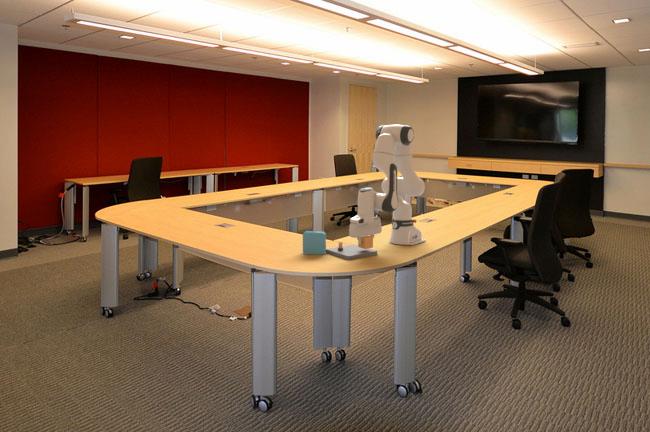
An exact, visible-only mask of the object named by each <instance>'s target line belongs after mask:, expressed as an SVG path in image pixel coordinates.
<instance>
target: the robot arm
mask: <svg viewBox="0 0 650 432" xmlns="http://www.w3.org/2000/svg"><path fill="white" fill-rule="evenodd" d="M414 137H415V131H414V128H413V127H412V126H410V125H407V124H404V125H403V124H388V125H386V124H382V125H379V126H378V127H377V128H376V131H375V139H376V142H375V145H374V148H373V152H372V153H373V155H372V163H373V166H374V167H375V168H376V169H377V170H379V171H380V172H382V173H384V175H385V176H386V177H385V178H384V179H383V180H382V182H381V190H382V192H377V191H376V190H374V189H373V187H367V186H366V187H363V188H360V189H359V190H358V195H357V207H358V208H357V214H356V215H355V216H353V217H351V218H349V222H350V224H349V227H348V228H349V229H348V235H349V237H350V238H354V239H357V242H358V241H359V244H360V245H361V244H363V241H361V239H360V238H361V236H367V235H369V236H373V239H374V238H375V235H377V234H381V233H382V231H383V230H382V222H381V218H380V217H379V216H375V211H378V212H384V213H387V214H391V213H392V219H391V233H390V237H389V243H390V244H394V245H403V246H404V245H407V246H409V245H410V246H414V245H418V244H421V243H425V242H426V239H425V238H423V235H422V231H421V230H420V229H419V228H418V227H416V226H415V225H414V223H415V224H416V223H417V221H418V220H417V219H414V218H413V219H412V216H413V215H412V213H413V210H412V209H413V206H412V205H411V203H409V202H408V201H406V200H404V197H418V196H422V195H423V194H424V192H425V189H426V184H425V182H424V180H423V179H422V178H420V177H419V176H418V174H417V172H416V171H415V169H414V164H413V149H412V142H413V141H414ZM398 173H400V175H401V176H398Z"/></svg>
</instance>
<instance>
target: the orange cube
mask: <svg viewBox="0 0 650 432" xmlns="http://www.w3.org/2000/svg"><path fill="white" fill-rule="evenodd" d="M360 239H361V241H363V244H361V245H360V244H359V241H358V240H357V242H358V243H357V245H358V247H360V248H363V249H368V248H369V249H373V247H374V238H373V236H370V235H367V236H361V238H360Z"/></svg>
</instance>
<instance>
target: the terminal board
mask: <svg viewBox="0 0 650 432" xmlns="http://www.w3.org/2000/svg"><path fill="white" fill-rule="evenodd" d="M325 253H326V254H328V255H331V256H335V257H338V258H341V259H345V260H347V261H350V260H357V259H362V258H367V257H371V256H376V255H378V250H376V249H373V248H368V249H363V248H360V247H358V244H348V245H343V241H339V242H338V246H337V247H336V246H335V247H331V248H330V247H329V248H326V252H325ZM325 253H324V254H325Z"/></svg>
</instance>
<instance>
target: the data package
mask: <svg viewBox="0 0 650 432" xmlns="http://www.w3.org/2000/svg"><path fill="white" fill-rule="evenodd" d="M326 249H327V234H326V232H325V231H323V230H322V231H319V230H318V231H316V230H315V231H314V230H312V231H311V230H306V231H304V232H303V233H302V253H303V254H305V255H314V256H315V255H318V256H319V255H320V256H322V255H324V254H325V252H326Z"/></svg>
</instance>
